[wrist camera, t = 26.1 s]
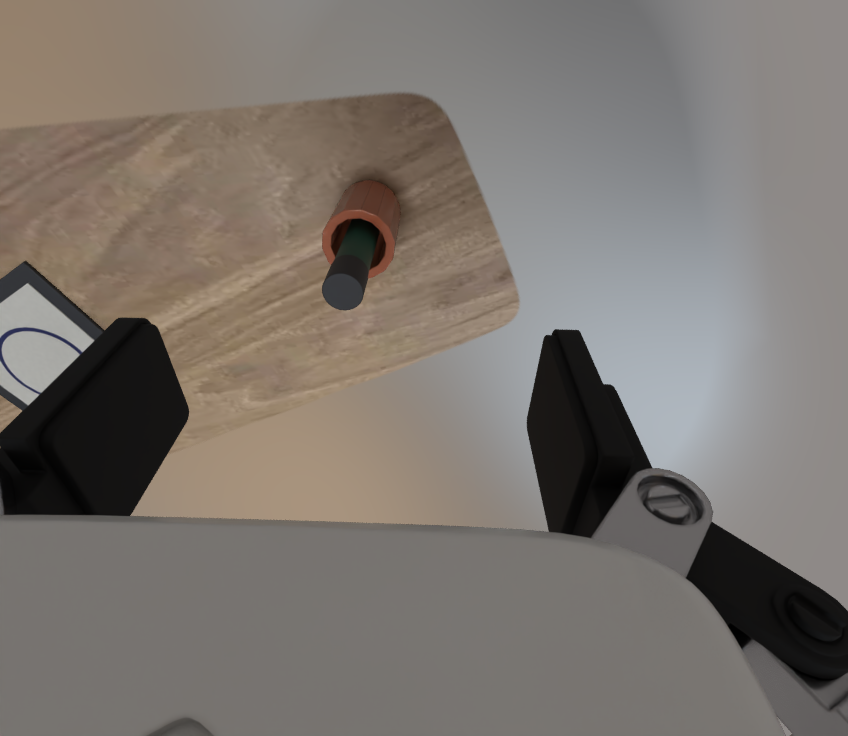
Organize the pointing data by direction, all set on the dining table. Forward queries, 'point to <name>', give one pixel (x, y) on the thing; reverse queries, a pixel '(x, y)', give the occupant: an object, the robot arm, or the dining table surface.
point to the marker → (351, 266)
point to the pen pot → (371, 206)
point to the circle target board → (37, 334)
